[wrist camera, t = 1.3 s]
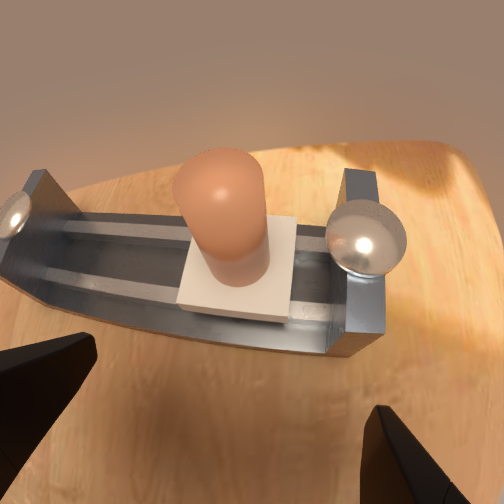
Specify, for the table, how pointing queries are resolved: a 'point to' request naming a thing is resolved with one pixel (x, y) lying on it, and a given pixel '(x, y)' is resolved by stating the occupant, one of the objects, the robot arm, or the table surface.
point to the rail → (173, 262)
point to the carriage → (233, 239)
